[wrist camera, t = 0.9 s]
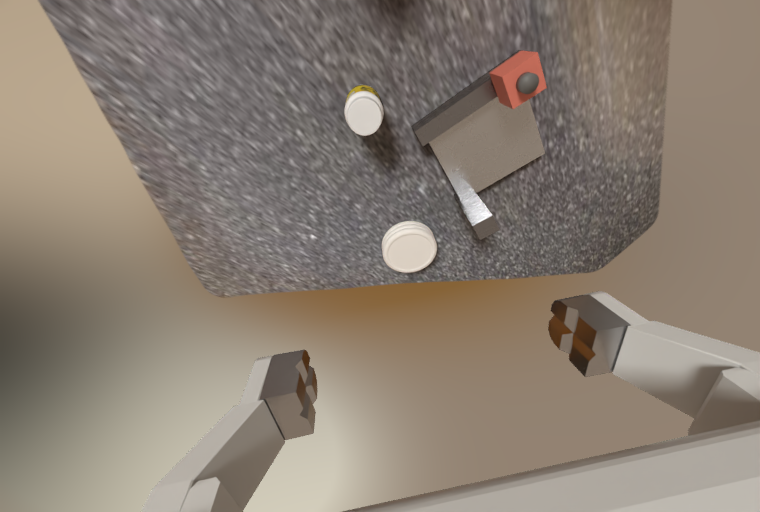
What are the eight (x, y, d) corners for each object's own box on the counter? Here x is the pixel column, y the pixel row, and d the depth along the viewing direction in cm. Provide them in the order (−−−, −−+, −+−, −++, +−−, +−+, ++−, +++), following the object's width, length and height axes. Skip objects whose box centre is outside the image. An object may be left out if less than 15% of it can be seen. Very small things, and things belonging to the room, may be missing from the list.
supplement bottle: (387, 100, 39) (394, 113, 33) (367, 129, 41) (369, 147, 35) (358, 75, 37) (359, 84, 31) (339, 107, 39) (335, 122, 33)
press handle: (520, 50, 34) (543, 53, 30) (530, 82, 36) (552, 89, 32) (489, 72, 35) (506, 78, 31) (499, 102, 37) (517, 111, 33)
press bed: (518, 50, 37) (562, 55, 29) (549, 156, 46) (589, 182, 38) (411, 126, 42) (424, 148, 34) (458, 209, 51) (477, 241, 43)
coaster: (390, 214, 51) (392, 224, 48) (441, 225, 53) (446, 236, 50) (375, 257, 56) (376, 269, 54) (422, 266, 59) (425, 277, 56)
